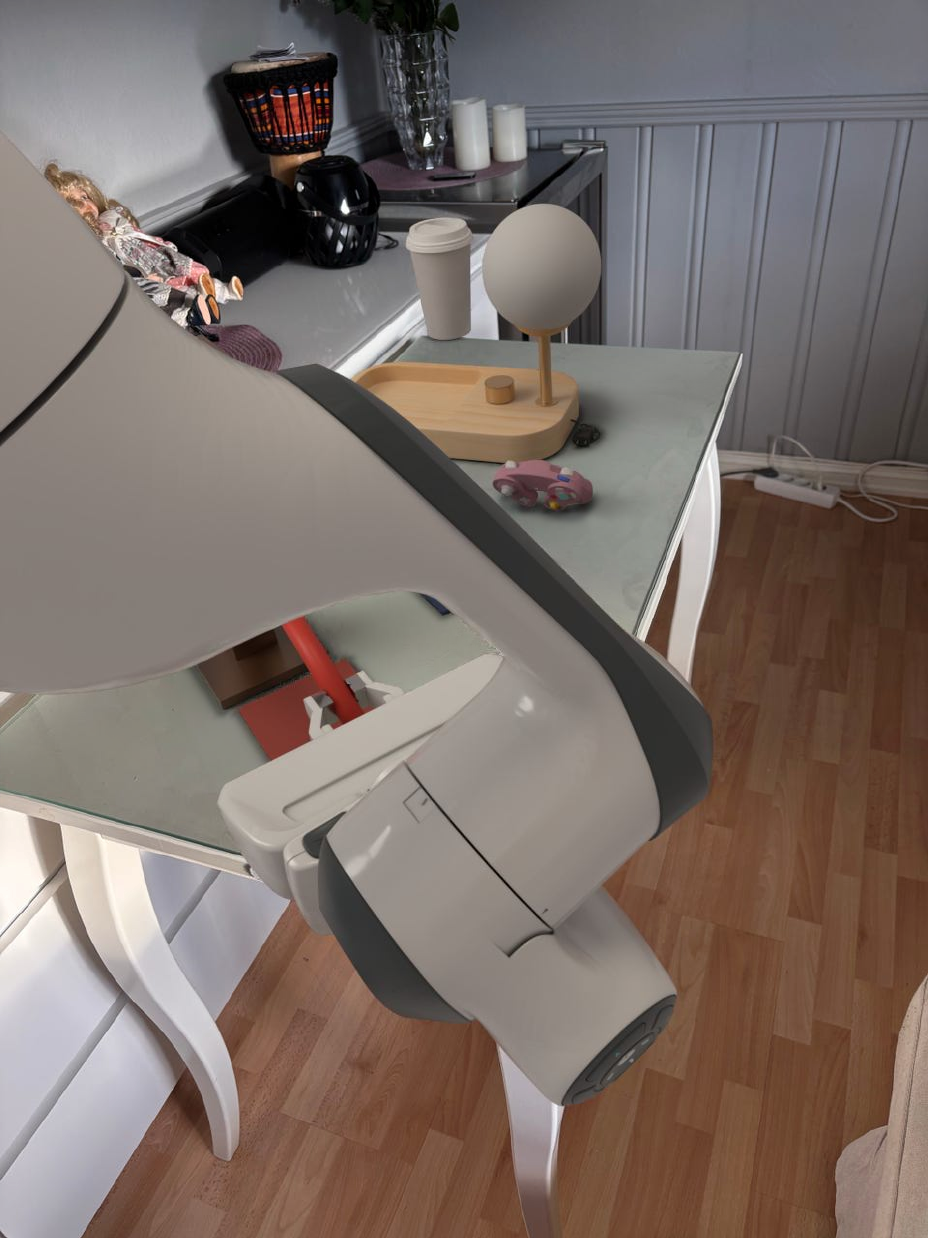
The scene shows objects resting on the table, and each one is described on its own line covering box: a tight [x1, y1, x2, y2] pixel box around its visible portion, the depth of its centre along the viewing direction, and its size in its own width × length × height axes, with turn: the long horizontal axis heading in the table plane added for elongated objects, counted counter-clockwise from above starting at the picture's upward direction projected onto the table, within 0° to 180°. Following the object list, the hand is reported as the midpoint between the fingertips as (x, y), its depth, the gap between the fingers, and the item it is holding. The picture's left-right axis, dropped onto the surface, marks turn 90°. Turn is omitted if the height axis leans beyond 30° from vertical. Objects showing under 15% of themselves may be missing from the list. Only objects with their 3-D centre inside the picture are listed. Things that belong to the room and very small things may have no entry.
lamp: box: [349, 203, 602, 464], centre depth 104 cm, size 33×17×25 cm, turn 71°
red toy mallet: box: [282, 616, 365, 725], centre depth 63 cm, size 20×4×2 cm, turn 33°
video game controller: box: [492, 459, 594, 511], centre depth 94 cm, size 10×5×7 cm, turn 68°
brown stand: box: [194, 334, 330, 710], centre depth 74 cm, size 10×12×26 cm
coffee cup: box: [405, 217, 474, 341], centre depth 130 cm, size 10×10×15 cm
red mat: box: [237, 658, 376, 761], centre depth 73 cm, size 10×12×1 cm
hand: (334, 691), depth 61 cm, fingers closed on red toy mallet, 1 cm apart
